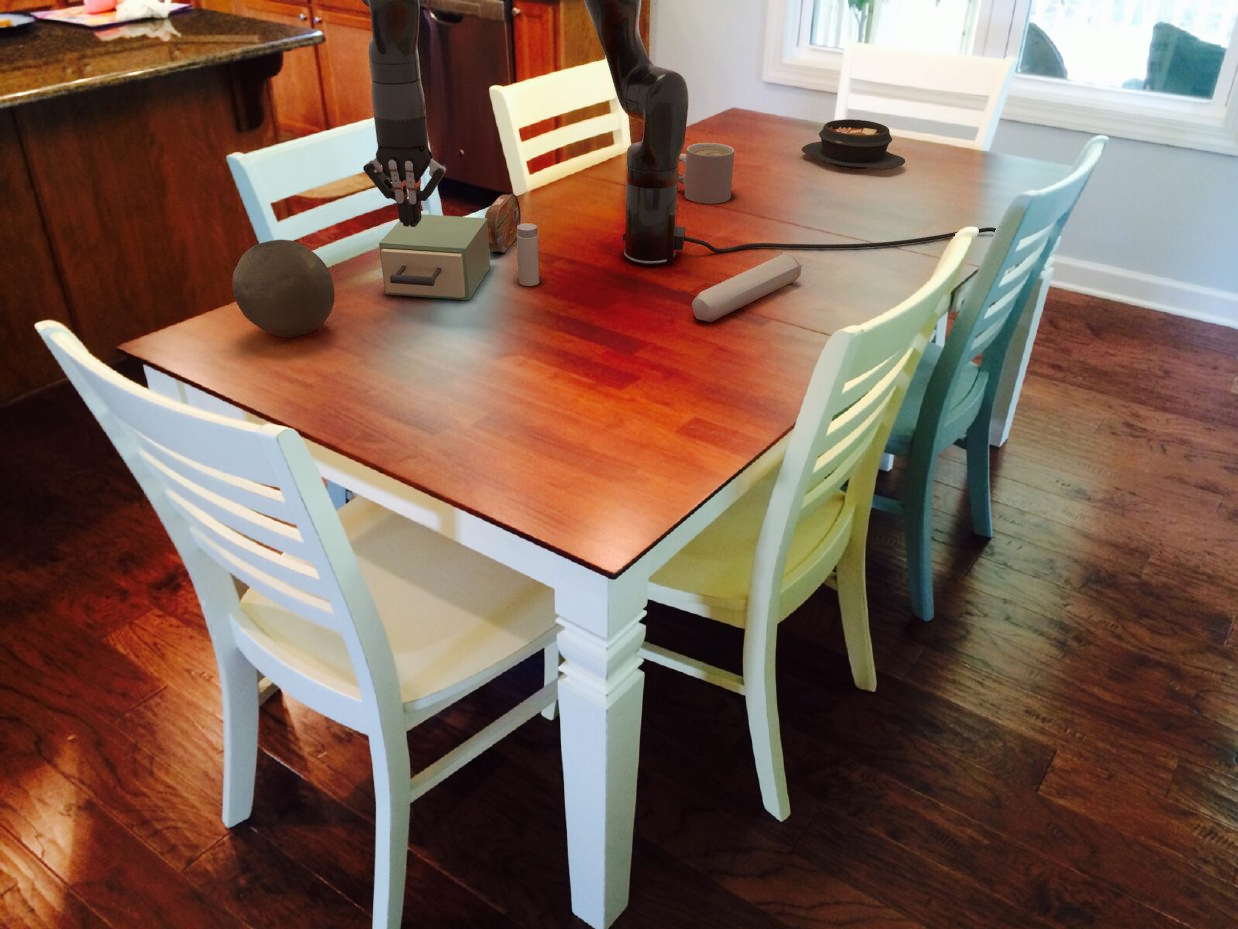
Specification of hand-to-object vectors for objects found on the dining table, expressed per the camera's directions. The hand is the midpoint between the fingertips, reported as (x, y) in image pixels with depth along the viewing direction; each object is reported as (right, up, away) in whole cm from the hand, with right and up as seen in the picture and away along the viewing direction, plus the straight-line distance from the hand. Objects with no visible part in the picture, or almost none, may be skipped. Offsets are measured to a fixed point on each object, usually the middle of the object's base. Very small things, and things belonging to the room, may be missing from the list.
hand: (411, 224), depth 155 cm
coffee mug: (+50, +21, +59) cm, 80 cm away
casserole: (+88, +34, +80) cm, 124 cm away
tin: (+11, +4, +32) cm, 34 cm away
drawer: (+1, -7, +13) cm, 15 cm away
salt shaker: (+17, -6, +17) cm, 25 cm away
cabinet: (+1, -5, +17) cm, 18 cm away
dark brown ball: (-18, -18, -2) cm, 25 cm away
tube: (+54, -10, +12) cm, 56 cm away
